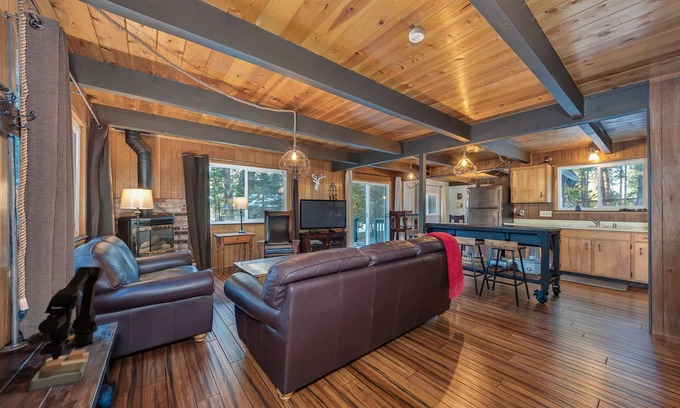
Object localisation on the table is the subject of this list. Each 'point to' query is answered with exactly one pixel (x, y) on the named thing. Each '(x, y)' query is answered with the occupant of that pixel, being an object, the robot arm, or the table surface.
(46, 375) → the shallow cream tray
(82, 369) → the tray
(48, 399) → the table surface
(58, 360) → the tile
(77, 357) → the tile
